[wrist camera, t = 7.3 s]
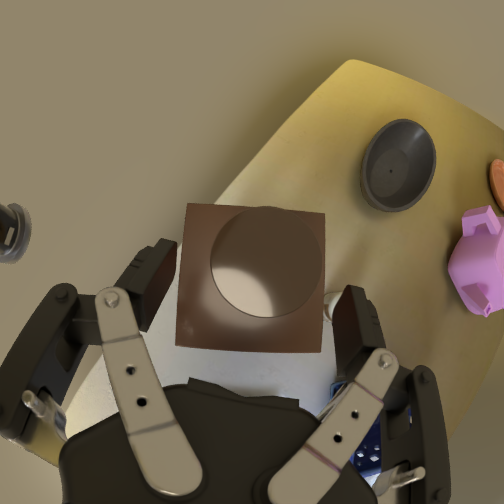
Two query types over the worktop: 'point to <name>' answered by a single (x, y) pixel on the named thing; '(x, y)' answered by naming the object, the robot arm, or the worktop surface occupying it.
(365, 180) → the bowl
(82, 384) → the worktop surface
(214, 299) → the stand
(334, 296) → the pill bottle
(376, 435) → the flower pot
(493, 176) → the saucer
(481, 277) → the teapot
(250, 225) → the spice jar
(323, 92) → the worktop surface
